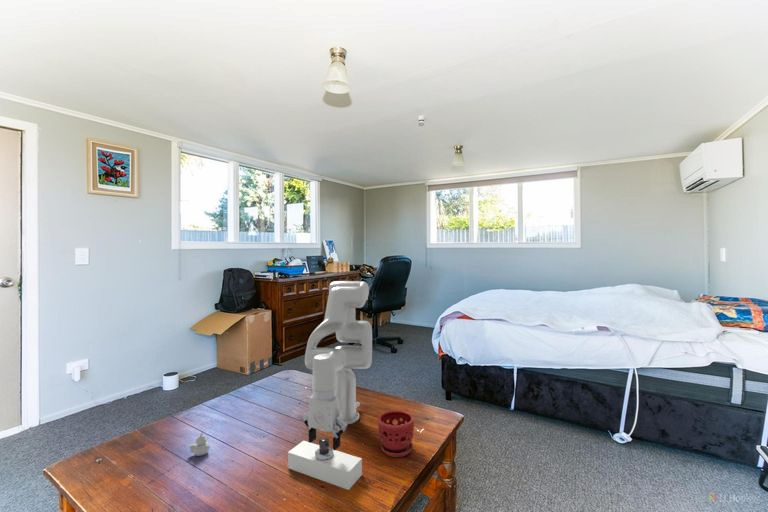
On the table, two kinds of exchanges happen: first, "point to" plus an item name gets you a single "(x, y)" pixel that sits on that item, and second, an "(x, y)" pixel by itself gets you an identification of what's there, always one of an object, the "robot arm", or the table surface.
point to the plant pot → (396, 433)
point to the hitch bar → (325, 465)
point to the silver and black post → (324, 450)
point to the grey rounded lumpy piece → (200, 446)
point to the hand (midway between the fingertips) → (324, 444)
